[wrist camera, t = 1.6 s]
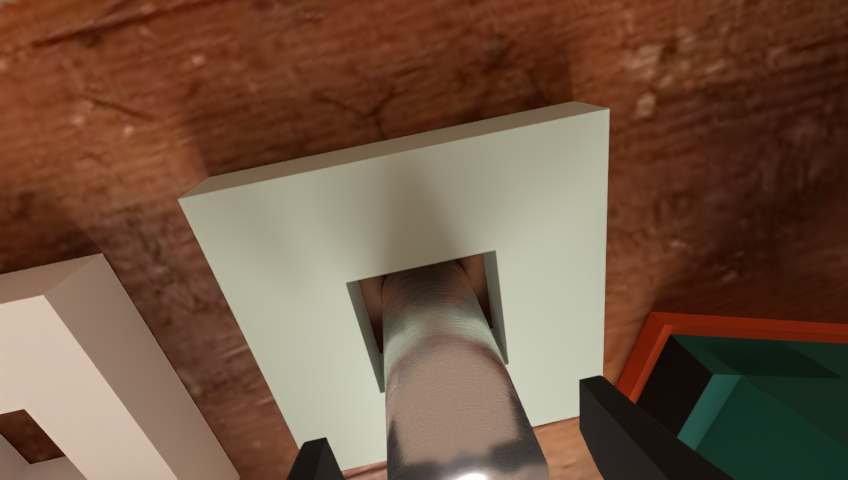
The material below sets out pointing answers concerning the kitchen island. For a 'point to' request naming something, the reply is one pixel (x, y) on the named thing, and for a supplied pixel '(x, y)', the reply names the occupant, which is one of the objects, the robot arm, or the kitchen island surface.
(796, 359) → the power tool
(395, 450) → the steel peg
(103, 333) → the cream square-hole board
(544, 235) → the socket block
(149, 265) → the kitchen island surface
